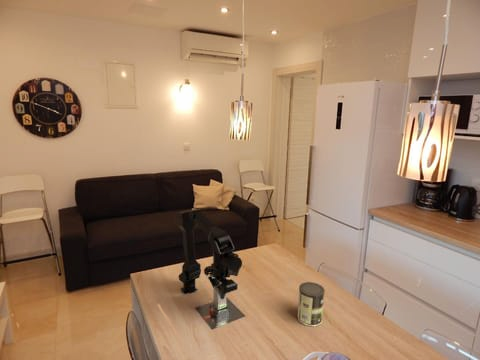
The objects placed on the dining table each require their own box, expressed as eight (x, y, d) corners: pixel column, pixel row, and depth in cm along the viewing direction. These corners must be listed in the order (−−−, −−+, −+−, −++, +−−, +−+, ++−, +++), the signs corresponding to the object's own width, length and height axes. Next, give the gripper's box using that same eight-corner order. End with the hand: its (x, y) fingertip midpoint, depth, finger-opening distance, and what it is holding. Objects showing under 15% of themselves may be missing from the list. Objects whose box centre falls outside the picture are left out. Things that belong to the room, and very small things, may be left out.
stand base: (194, 310, 135) (194, 302, 134) (226, 298, 144) (226, 292, 143) (211, 331, 122) (211, 324, 121) (245, 318, 131) (245, 310, 130)
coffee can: (321, 312, 135) (324, 283, 132) (322, 328, 125) (325, 297, 122) (297, 309, 137) (299, 280, 134) (296, 324, 127) (298, 293, 124)
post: (213, 304, 133) (213, 285, 131) (221, 301, 135) (221, 283, 133) (217, 310, 129) (218, 290, 127) (226, 306, 131) (226, 287, 130)
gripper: (249, 267, 124) (248, 301, 128) (225, 249, 140) (225, 281, 143) (224, 274, 118) (224, 310, 122) (203, 255, 134) (203, 287, 137)
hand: (219, 296), depth 131 cm, fingers closed on post, 4 cm apart
